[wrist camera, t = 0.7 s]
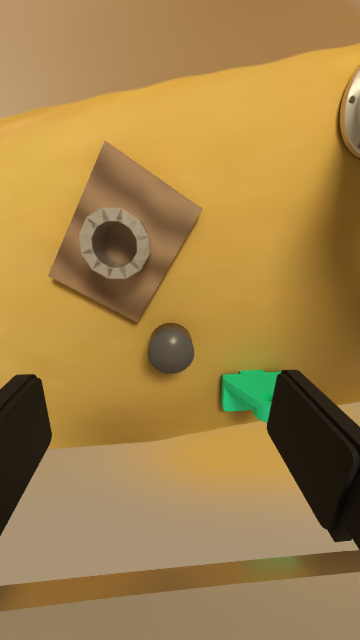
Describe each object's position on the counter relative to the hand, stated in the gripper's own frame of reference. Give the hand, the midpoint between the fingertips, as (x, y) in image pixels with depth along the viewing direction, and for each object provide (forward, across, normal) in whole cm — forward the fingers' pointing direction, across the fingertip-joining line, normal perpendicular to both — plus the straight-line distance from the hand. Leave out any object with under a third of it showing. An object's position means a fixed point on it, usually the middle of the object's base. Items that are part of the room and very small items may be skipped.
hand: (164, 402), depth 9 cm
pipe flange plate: (+30, +5, -6) cm, 31 cm away
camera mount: (+30, -18, +21) cm, 41 cm away
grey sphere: (+30, -2, +10) cm, 32 cm away
